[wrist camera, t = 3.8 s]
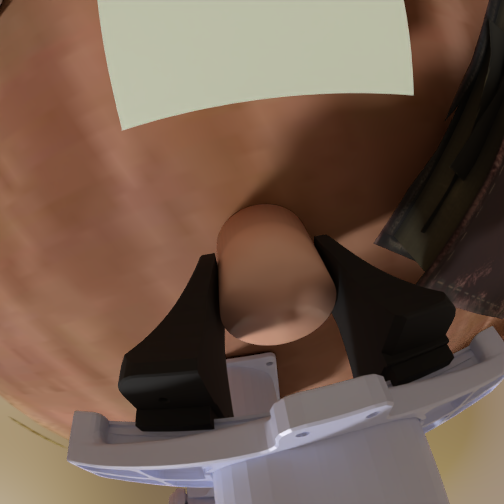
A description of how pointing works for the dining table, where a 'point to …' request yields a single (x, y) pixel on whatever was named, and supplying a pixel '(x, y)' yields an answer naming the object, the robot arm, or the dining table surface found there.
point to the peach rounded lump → (271, 277)
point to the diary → (463, 189)
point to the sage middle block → (249, 52)
